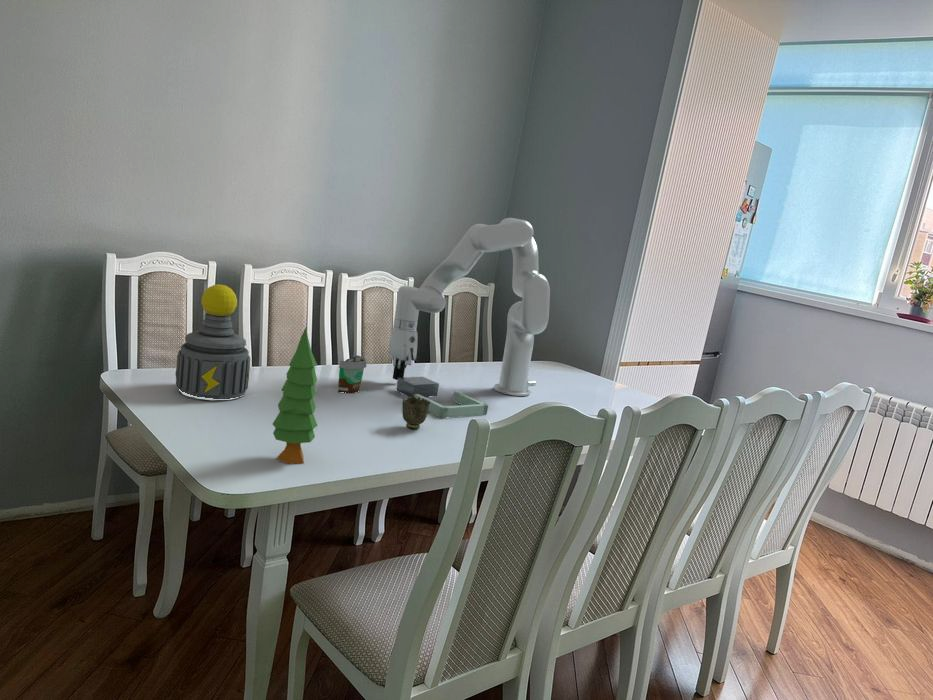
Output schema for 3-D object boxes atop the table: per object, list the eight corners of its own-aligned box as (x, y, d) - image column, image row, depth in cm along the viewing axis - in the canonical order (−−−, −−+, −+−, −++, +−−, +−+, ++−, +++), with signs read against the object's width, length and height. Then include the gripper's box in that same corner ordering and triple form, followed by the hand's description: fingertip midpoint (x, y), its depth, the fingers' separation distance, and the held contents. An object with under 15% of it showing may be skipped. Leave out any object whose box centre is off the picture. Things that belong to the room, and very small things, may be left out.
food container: (355, 397, 219) (359, 364, 217) (335, 393, 220) (339, 360, 218) (368, 388, 231) (372, 357, 229) (350, 385, 232) (354, 354, 230)
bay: (456, 400, 232) (458, 391, 232) (486, 414, 222) (488, 405, 221) (413, 403, 221) (414, 394, 221) (442, 418, 211) (444, 408, 210)
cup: (412, 422, 202) (416, 394, 201) (431, 430, 198) (436, 402, 196) (393, 426, 196) (396, 397, 195) (412, 434, 192) (417, 405, 191)
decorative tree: (277, 467, 156) (292, 329, 150) (261, 452, 163) (275, 320, 158) (320, 463, 162) (335, 330, 156) (302, 449, 169) (317, 321, 164)
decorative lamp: (247, 386, 214) (257, 284, 208) (246, 404, 196) (256, 293, 190) (178, 380, 208) (187, 276, 203) (170, 399, 191) (179, 285, 185)
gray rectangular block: (420, 389, 241) (422, 376, 240) (437, 397, 235) (439, 383, 234) (396, 391, 234) (397, 377, 233) (412, 398, 228) (414, 384, 227)
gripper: (428, 329, 236) (420, 385, 239) (401, 320, 247) (394, 373, 250) (409, 329, 231) (401, 385, 234) (383, 319, 242) (376, 373, 245)
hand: (397, 379), depth 242 cm, fingers closed
